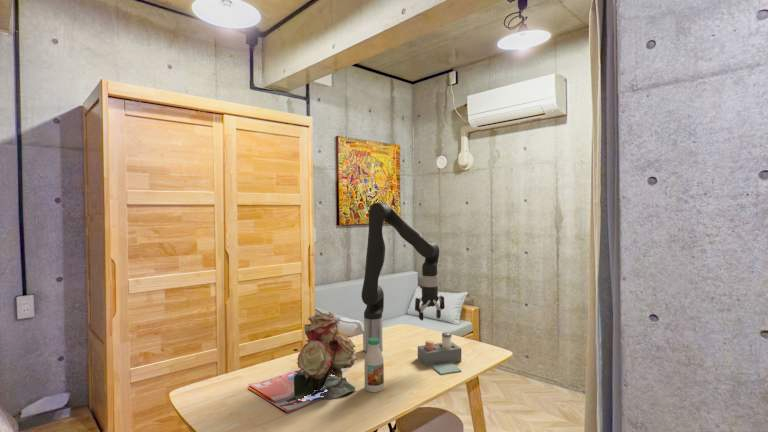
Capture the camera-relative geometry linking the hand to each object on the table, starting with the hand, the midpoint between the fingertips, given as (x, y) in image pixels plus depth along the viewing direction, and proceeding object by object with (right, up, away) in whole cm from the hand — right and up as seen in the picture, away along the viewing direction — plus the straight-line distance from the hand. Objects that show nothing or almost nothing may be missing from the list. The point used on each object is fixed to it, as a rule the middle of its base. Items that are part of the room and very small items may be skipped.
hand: (429, 319), depth 188 cm
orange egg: (0, -17, 0) cm, 17 cm away
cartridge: (+9, -20, +3) cm, 22 cm away
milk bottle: (-26, -21, -27) cm, 43 cm away
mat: (+6, -20, -9) cm, 23 cm away
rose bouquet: (-45, -21, -25) cm, 56 cm away
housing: (+5, -20, +2) cm, 21 cm away
